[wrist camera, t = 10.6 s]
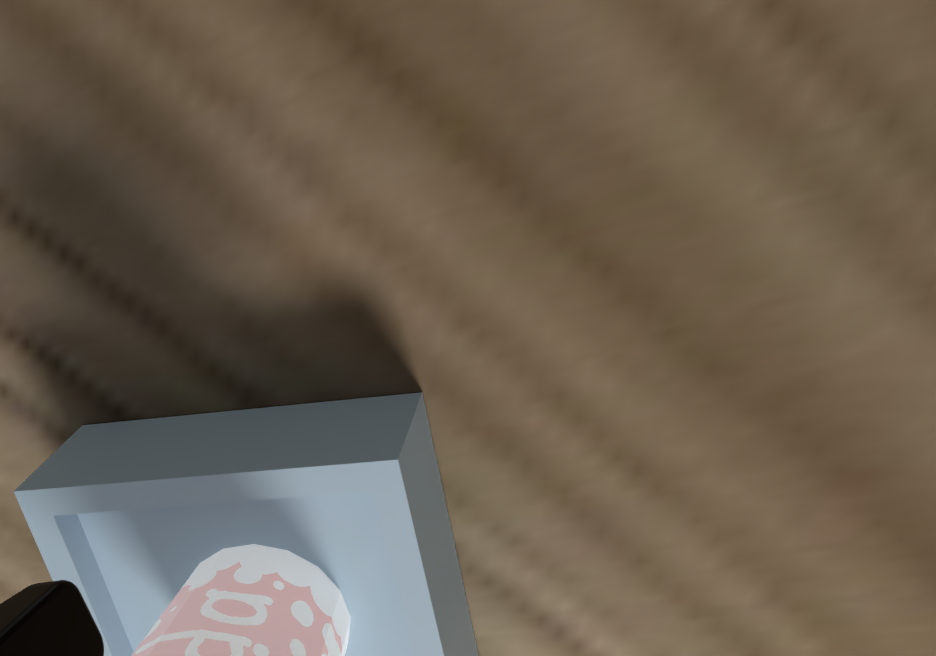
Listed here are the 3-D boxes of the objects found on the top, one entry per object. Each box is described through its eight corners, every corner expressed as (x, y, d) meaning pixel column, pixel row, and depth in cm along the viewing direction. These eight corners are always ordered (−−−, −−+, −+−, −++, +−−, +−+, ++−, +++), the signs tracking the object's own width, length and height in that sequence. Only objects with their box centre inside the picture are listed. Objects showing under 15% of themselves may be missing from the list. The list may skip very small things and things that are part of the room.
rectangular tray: (421, 392, 23) (398, 459, 20) (483, 678, 27) (470, 770, 24) (82, 425, 25) (13, 491, 22) (184, 688, 29) (138, 776, 26)
